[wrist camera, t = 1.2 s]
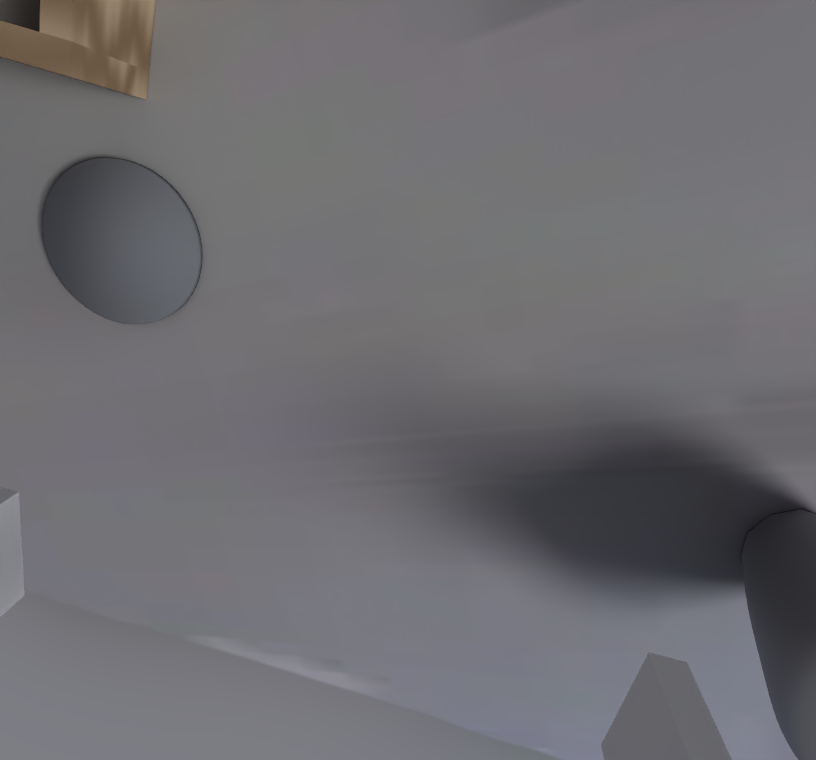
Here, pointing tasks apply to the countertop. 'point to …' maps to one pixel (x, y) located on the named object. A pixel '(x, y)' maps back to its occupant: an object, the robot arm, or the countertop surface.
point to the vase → (786, 619)
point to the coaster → (122, 240)
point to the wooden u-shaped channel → (88, 42)
